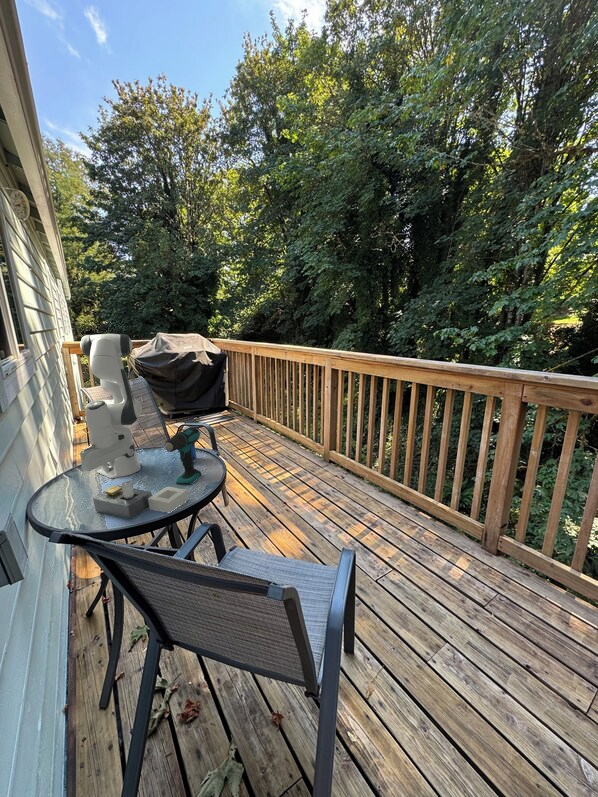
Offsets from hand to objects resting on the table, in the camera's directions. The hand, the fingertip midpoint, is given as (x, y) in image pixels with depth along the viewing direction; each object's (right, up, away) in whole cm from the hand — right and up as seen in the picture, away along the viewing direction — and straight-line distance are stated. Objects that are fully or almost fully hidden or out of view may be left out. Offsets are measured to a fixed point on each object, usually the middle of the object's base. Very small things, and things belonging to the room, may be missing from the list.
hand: (109, 471), depth 147 cm
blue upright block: (+19, -4, +47) cm, 50 cm away
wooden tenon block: (+1, -15, +3) cm, 16 cm away
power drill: (+25, -10, +23) cm, 35 cm away
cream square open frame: (+24, -15, +2) cm, 29 cm away
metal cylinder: (+9, -16, 0) cm, 19 cm away
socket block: (+6, -16, +1) cm, 17 cm away
